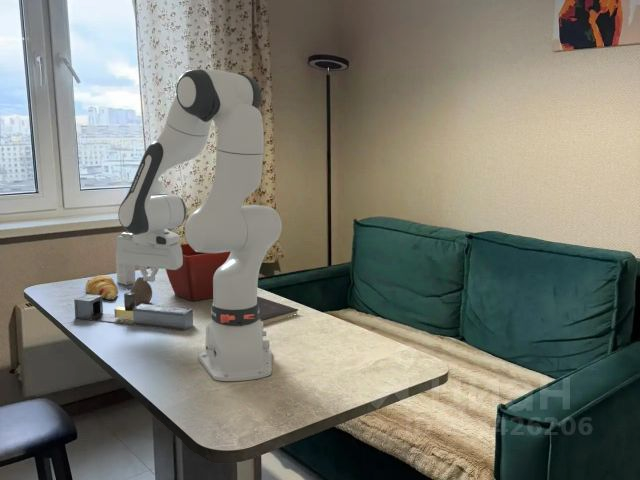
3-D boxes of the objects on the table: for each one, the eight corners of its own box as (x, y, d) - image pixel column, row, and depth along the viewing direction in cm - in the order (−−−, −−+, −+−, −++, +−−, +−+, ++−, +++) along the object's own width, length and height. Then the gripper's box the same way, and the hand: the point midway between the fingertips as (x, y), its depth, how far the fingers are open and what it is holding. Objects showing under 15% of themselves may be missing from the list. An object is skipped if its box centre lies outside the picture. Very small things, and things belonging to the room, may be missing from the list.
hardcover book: (251, 300, 200) (251, 294, 200) (298, 316, 185) (298, 309, 185) (213, 310, 189) (213, 303, 188) (260, 327, 174) (260, 320, 173)
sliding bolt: (186, 321, 172) (185, 297, 171) (181, 325, 169) (180, 300, 167) (120, 314, 177) (119, 291, 176) (114, 317, 174) (113, 293, 173)
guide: (193, 324, 173) (193, 305, 172) (184, 331, 167) (184, 311, 166) (87, 312, 182) (86, 294, 180) (75, 318, 176) (74, 299, 175)
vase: (146, 307, 188) (145, 281, 187) (126, 305, 190) (125, 279, 188) (156, 301, 195) (155, 276, 193) (137, 299, 196) (136, 274, 195)
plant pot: (160, 293, 205) (159, 246, 201) (207, 284, 217) (207, 240, 214) (188, 306, 191) (187, 256, 188) (236, 296, 203) (236, 249, 200)
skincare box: (136, 283, 217) (134, 251, 215) (126, 285, 214) (124, 253, 211) (126, 280, 220) (125, 249, 218) (116, 282, 217) (115, 251, 215)
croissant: (122, 309, 197) (132, 288, 198) (95, 301, 190) (106, 278, 191) (97, 294, 212) (106, 274, 213) (72, 285, 205) (81, 265, 206)
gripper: (110, 234, 168) (111, 280, 170) (174, 240, 163) (175, 287, 166) (122, 230, 174) (123, 274, 176) (185, 236, 169) (185, 281, 172)
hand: (149, 281), depth 171 cm, fingers closed
